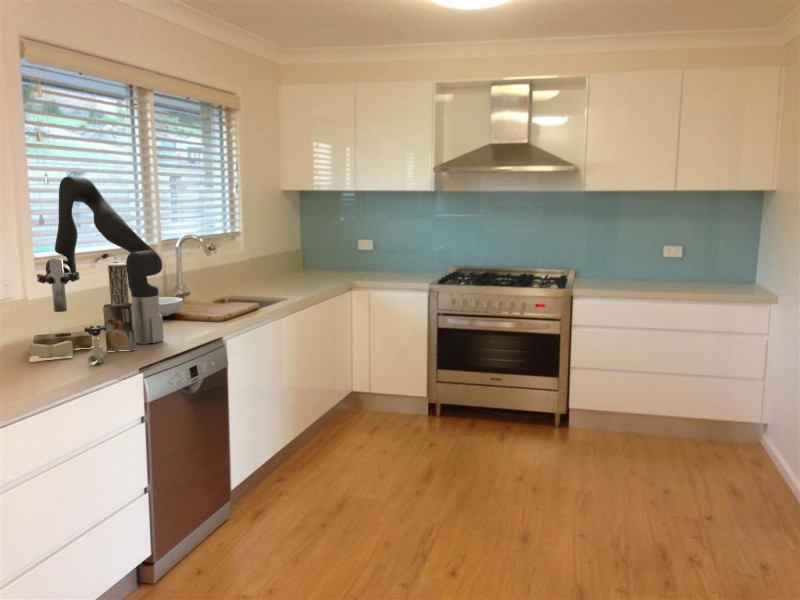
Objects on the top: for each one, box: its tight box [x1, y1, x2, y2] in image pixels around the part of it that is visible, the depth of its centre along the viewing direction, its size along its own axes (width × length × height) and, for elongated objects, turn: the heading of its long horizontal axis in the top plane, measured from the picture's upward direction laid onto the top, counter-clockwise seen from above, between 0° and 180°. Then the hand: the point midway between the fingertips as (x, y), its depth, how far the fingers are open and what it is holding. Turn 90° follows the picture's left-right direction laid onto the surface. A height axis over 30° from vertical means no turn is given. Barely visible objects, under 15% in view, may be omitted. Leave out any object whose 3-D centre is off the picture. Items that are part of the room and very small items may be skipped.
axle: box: [49, 258, 68, 313], centre depth 234 cm, size 4×4×18 cm
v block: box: [29, 341, 75, 358], centre depth 228 cm, size 10×13×4 cm
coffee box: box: [102, 302, 137, 352], centre depth 236 cm, size 9×6×16 cm
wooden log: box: [107, 262, 130, 304], centre depth 277 cm, size 7×7×25 cm
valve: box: [84, 324, 108, 364], centre depth 219 cm, size 7×7×12 cm
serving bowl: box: [159, 296, 184, 316], centre depth 296 cm, size 21×21×7 cm
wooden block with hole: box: [32, 330, 93, 349], centre depth 238 cm, size 18×8×5 cm, turn 114°
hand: (57, 280), depth 232 cm, fingers closed on axle, 4 cm apart
